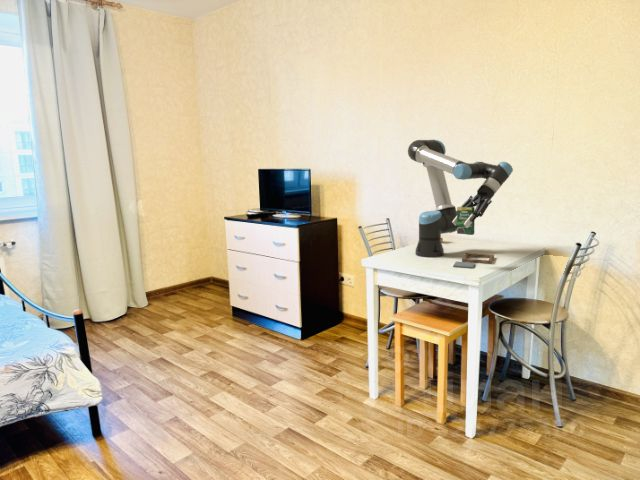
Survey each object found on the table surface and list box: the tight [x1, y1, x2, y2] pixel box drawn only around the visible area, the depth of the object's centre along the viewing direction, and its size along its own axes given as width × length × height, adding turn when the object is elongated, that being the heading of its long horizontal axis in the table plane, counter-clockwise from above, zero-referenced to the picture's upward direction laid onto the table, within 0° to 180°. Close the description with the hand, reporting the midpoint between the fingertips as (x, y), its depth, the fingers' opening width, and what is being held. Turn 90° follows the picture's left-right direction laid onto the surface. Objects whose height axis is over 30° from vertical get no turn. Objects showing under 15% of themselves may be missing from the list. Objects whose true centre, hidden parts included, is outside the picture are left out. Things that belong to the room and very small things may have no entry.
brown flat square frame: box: [461, 252, 495, 265], centre depth 226 cm, size 14×15×2 cm
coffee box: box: [456, 206, 476, 236], centre depth 211 cm, size 8×3×13 cm, turn 45°
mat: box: [452, 261, 476, 269], centre depth 215 cm, size 9×9×1 cm
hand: (459, 224), depth 210 cm, fingers closed on coffee box, 8 cm apart
